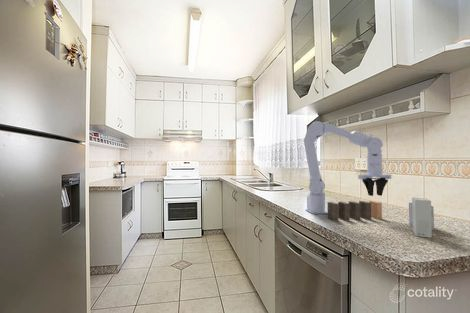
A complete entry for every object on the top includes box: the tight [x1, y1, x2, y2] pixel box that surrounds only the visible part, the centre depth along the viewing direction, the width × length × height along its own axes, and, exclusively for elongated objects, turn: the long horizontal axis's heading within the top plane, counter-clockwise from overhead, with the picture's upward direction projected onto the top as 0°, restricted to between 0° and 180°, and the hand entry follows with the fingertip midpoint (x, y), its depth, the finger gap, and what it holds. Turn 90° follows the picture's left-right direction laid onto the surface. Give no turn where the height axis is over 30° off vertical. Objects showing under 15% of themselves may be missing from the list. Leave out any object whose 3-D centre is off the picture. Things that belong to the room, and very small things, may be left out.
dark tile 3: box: [348, 200, 361, 221], centre depth 101 cm, size 5×2×7 cm, turn 7°
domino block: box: [358, 200, 372, 221], centre depth 101 cm, size 5×2×7 cm, turn 7°
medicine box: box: [408, 202, 435, 231], centre depth 87 cm, size 8×4×9 cm, turn 168°
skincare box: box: [411, 197, 433, 239], centre depth 78 cm, size 6×4×12 cm
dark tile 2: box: [337, 201, 351, 221], centre depth 100 cm, size 5×2×7 cm, turn 7°
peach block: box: [369, 200, 383, 220], centre depth 102 cm, size 5×2×7 cm, turn 7°
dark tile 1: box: [327, 201, 339, 222], centre depth 99 cm, size 5×2×7 cm, turn 7°
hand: (375, 195), depth 102 cm, fingers open, 4 cm apart
